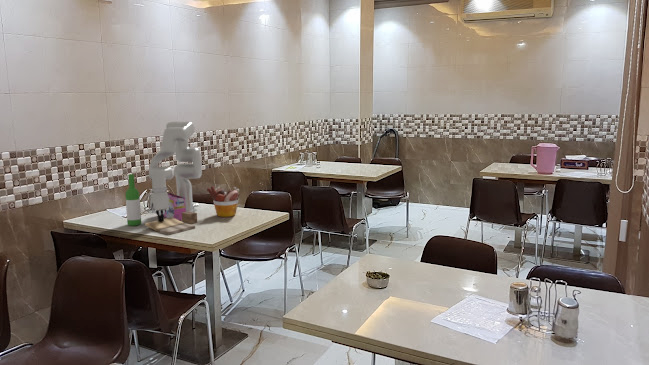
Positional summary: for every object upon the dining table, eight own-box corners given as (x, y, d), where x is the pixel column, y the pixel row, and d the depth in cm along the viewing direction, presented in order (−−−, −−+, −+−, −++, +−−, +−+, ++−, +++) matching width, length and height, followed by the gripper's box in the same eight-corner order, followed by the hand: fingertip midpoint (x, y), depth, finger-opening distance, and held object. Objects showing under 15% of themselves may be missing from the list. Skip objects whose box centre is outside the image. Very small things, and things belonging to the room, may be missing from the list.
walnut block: (188, 220, 308) (188, 211, 307) (197, 222, 304) (196, 212, 303) (182, 222, 304) (181, 212, 303) (190, 224, 300) (190, 214, 299)
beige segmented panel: (171, 219, 303) (171, 217, 302) (184, 225, 296) (184, 223, 296) (145, 225, 289) (145, 223, 288) (157, 231, 282) (158, 229, 282)
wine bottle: (125, 224, 300) (122, 174, 295) (139, 222, 304) (135, 173, 299) (129, 226, 294) (125, 176, 289) (143, 224, 298) (139, 174, 293)
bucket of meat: (233, 211, 334) (232, 181, 330) (245, 215, 321) (244, 184, 317) (205, 215, 322) (204, 184, 319) (216, 220, 309) (215, 188, 306)
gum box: (159, 214, 324) (157, 194, 322) (170, 212, 330) (169, 192, 327) (174, 221, 306) (173, 199, 304) (186, 219, 312) (185, 197, 309)
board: (185, 225, 296) (185, 223, 295) (195, 228, 290) (195, 225, 290) (159, 232, 281) (158, 229, 281) (168, 234, 276) (168, 232, 276)
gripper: (166, 188, 299) (168, 218, 301) (144, 191, 287) (145, 222, 290) (174, 189, 294) (175, 219, 297) (151, 192, 282) (153, 224, 285)
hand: (161, 221), depth 293 cm, fingers closed
